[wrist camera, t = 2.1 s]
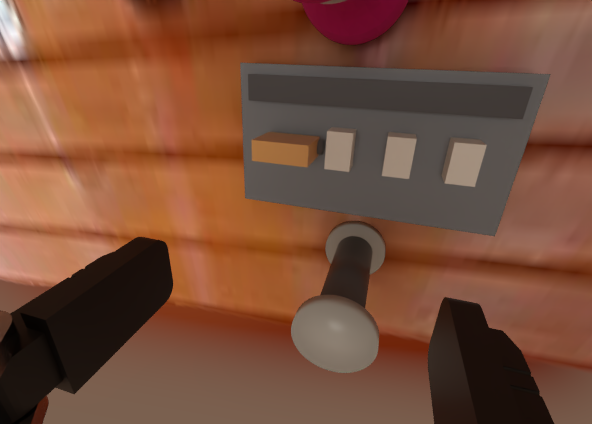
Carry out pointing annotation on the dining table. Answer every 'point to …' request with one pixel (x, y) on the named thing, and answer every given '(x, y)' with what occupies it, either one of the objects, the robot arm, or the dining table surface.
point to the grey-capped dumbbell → (342, 303)
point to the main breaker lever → (287, 149)
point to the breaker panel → (370, 152)
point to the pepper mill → (353, 18)
